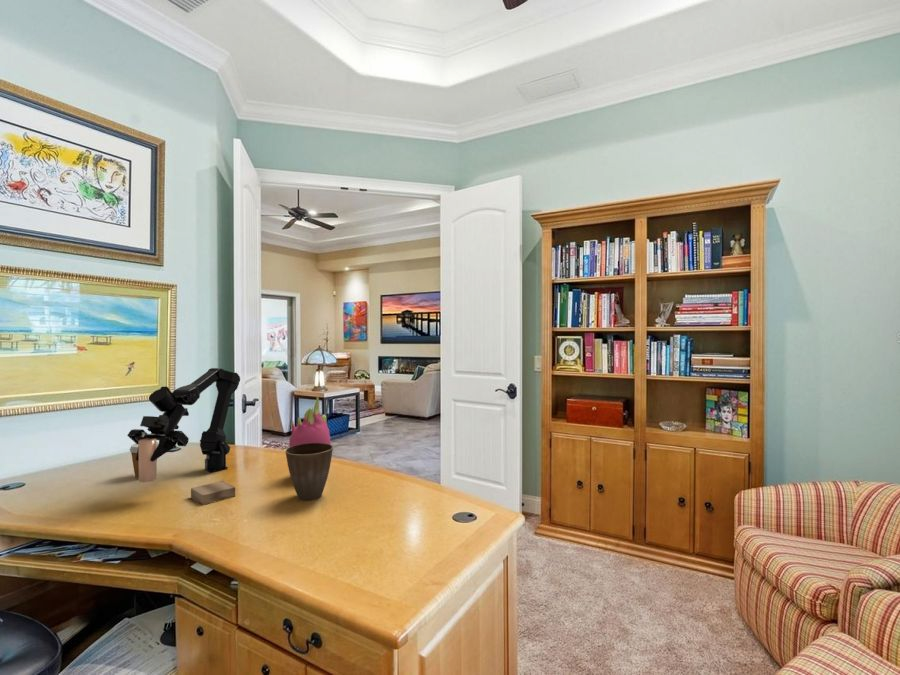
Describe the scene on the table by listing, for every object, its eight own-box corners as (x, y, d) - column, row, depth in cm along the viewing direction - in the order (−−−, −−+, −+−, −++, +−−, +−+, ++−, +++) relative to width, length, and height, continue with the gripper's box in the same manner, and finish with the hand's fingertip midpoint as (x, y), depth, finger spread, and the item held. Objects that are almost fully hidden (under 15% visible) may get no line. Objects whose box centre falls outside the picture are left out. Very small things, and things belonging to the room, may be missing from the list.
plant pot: (319, 506, 139) (319, 455, 139) (276, 503, 142) (276, 453, 142) (340, 490, 154) (340, 443, 154) (301, 487, 157) (300, 441, 157)
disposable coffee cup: (148, 479, 165) (148, 447, 165) (123, 479, 166) (123, 447, 166) (165, 471, 175) (165, 441, 175) (141, 471, 175) (141, 441, 175)
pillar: (154, 476, 149) (153, 437, 148) (158, 479, 145) (158, 439, 145) (136, 480, 145) (136, 439, 145) (141, 483, 142) (140, 442, 142)
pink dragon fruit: (316, 467, 181) (315, 392, 180) (340, 472, 174) (340, 395, 173) (279, 479, 165) (278, 398, 165) (304, 485, 158) (304, 401, 158)
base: (222, 489, 155) (222, 480, 155) (235, 496, 148) (235, 487, 148) (190, 497, 148) (190, 488, 147) (202, 504, 141) (202, 495, 141)
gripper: (131, 405, 150) (102, 446, 139) (182, 406, 147) (155, 448, 137) (150, 423, 158) (124, 464, 147) (199, 425, 155) (175, 466, 145)
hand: (144, 460), depth 144 cm, fingers closed on pillar, 5 cm apart
